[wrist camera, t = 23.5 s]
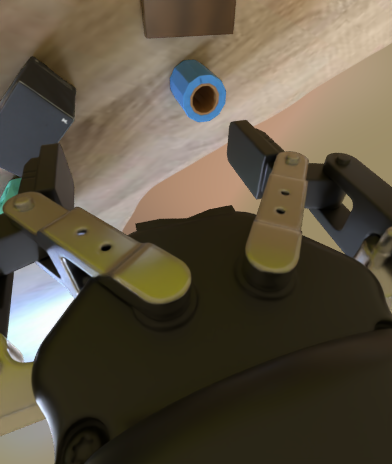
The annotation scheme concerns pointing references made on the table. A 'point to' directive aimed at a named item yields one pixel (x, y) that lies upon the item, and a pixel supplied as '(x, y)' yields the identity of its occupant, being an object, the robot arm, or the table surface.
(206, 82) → the tape roll
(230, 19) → the tape rack
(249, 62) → the table surface
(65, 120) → the small box
